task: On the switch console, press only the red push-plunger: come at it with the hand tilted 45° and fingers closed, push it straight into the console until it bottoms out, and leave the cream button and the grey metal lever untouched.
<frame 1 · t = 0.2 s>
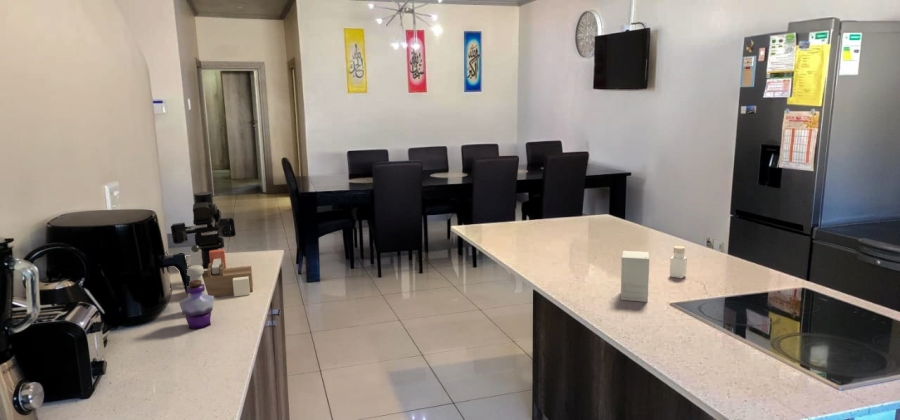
hand: (202, 236, 179), 16 cm above the table, tool horizontal, fingers open, 9 cm apart
cream button: (241, 286, 173), point 3 cm above the table, slide at 0.0 cm
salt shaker: (199, 312, 160), on the table
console: (221, 291, 177), on the table
supplement box: (634, 297, 164), on the table
potion bottle: (199, 326, 150), on the table
pepper shaker: (677, 277, 182), on the table
red plunger: (216, 264, 179), point 8 cm above the table, slide at 0.0 cm
lever: (196, 261, 171), point 11 cm above the table, hinge at -20.0°
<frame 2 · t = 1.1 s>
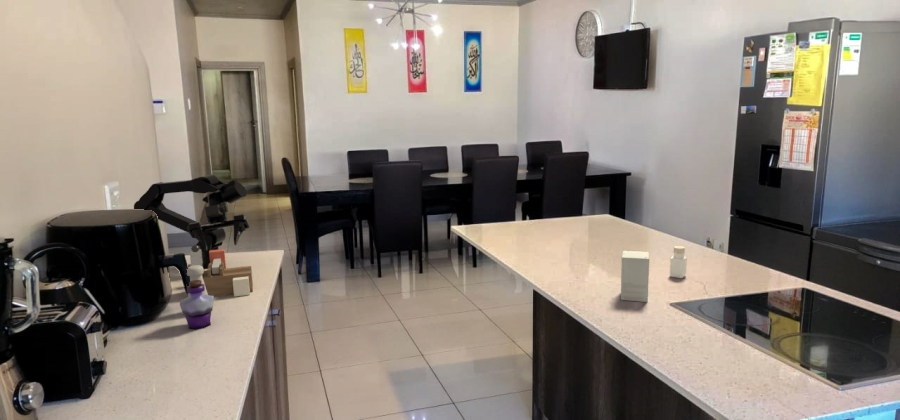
hand: (220, 247, 191), 10 cm above the table, tool tilted 45°, fingers open, 9 cm apart
nothing on the table moved.
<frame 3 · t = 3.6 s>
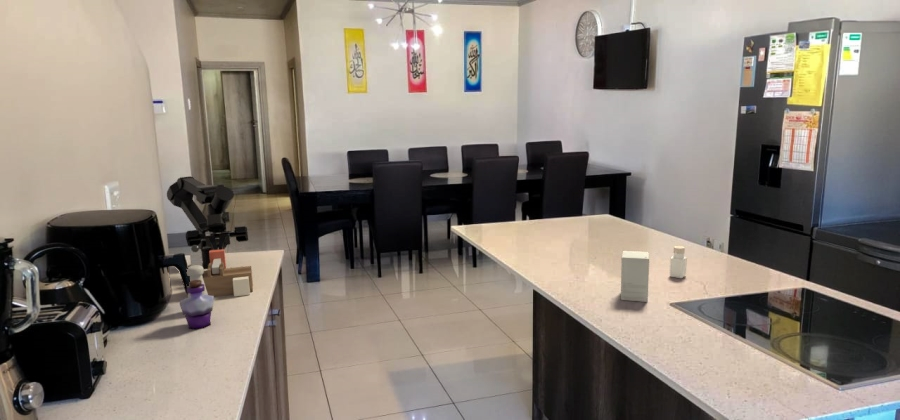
hand: (218, 258, 185), 8 cm above the table, tool tilted 45°, fingers closed, pressing on red plunger
red plunger: (216, 264, 179), point 8 cm above the table, slide at 0.1 cm, touching gripper
everything else where it was.
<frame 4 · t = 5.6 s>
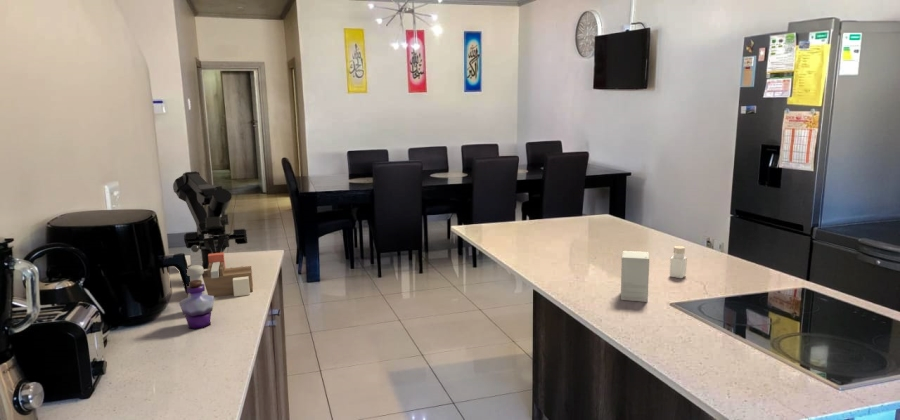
hand: (217, 260, 184), 7 cm above the table, tool tilted 45°, fingers closed
red plunger: (215, 268, 175), point 8 cm above the table, slide at 4.3 cm
everything else where it was.
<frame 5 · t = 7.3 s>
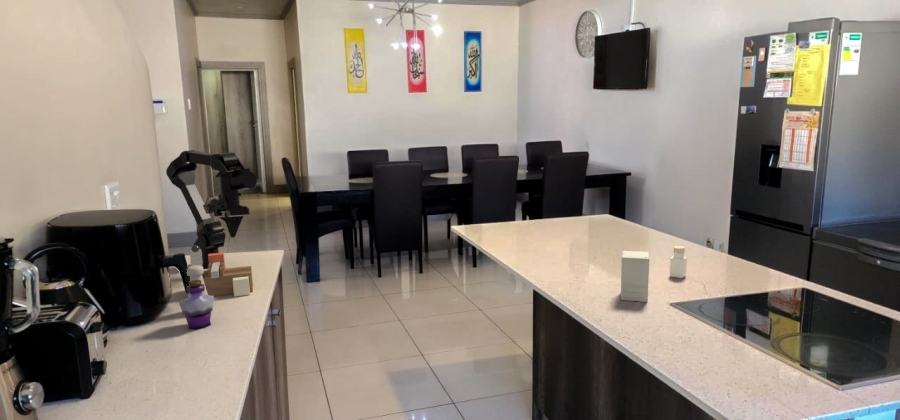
hand: (232, 237, 193), 12 cm above the table, tool pointing down, fingers closed
nothing on the table moved.
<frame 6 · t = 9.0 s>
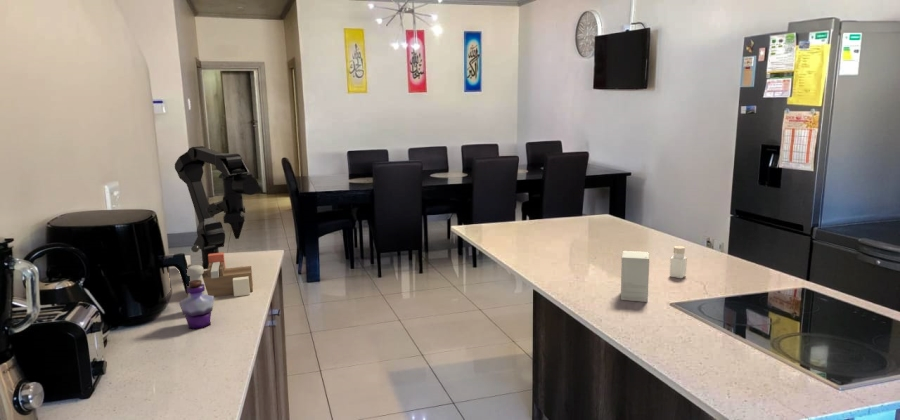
hand: (237, 238, 193), 12 cm above the table, tool pointing down, fingers closed
nothing on the table moved.
at the end: red plunger slide at 4.3 cm; cream button slide at 0.0 cm; lever at -20° (first picture: -20°) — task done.
